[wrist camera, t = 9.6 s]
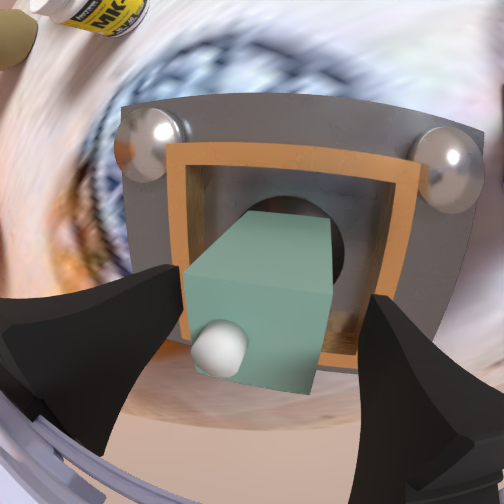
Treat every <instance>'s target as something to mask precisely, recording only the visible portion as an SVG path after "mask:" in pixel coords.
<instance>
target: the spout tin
mask: <svg viewBox="0 0 504 504" xmlns="http://www.w3.org/2000/svg"><path fill="white" fill-rule="evenodd" d="M183 281H184V291H185V299H186V308H187V316H188V324H189V331H190V338H191V345H192V348H191V357H192V359H193V361H194V364H195V370H196V373H199V374H203V375H207V376H211V377H215V378H219V379H223V380H228V381H232V382H237V383H241V384H246V385H251V386H256V387H261V388H267V389H272V390H278V391H285V392H291V393H298V394H306V395H310V391H311V388H312V384H313V380H314V377H315V373H316V369H317V365H318V361H319V357H320V353H321V348H322V344H323V340H324V335H325V331H326V326H327V321H328V317H329V312H330V307H331V302H332V296H333V273H332V245H331V226H330V218H321V217H312V216H302V215H293V214H282V213H272V212H261V211H249V210H248V211H247V212H246V213H245V214H244V215H243V216H242V217H241V218H240V219H239V220H238V221H237V222H236V223H234V224H233V225H232V226H231V227H230V228H229V229H228V230H227V231H226V232H225V233H224V234H223V235H222V236H221V237H220V238H219V239H218V240H216V241H215V242H214V243H213V244H212V245H211V246H210V247H209V248H208V249H207V250H206V251H205V252H204V253H203V254H202V255H201V256H200V257H199V258H198V259H197V260H196V261H195V262H194V263H192V264H191V265H190V266H189V267H188V268H187V269H186V270H185V271H184V272H183Z"/></svg>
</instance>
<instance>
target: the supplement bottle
mask: <svg viewBox="0 0 504 504" xmlns="http://www.w3.org/2000/svg"><path fill="white" fill-rule="evenodd" d="M149 4H150V0H31V1H30V6H29V9H30V11H31V12H32V13H35V14H39V15H44V16H49V17H50V19H51V21H53V22H54V23H57V24H62V25H66V26H71V27H75V28H79V29H83V30H87V31H90V32H94V33H98V34H101V35H104V36H108V37H119V36H122V35H124V34H126V33H128V32H130V31H131V30H132V29H134V28H135V27H136V26H137V25H138V24H139V23H140V21H141V20H142V19H143V17H144V16H145V14H146V12H147V10H148V7H149Z"/></svg>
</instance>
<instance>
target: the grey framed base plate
mask: <svg viewBox="0 0 504 504" xmlns="http://www.w3.org/2000/svg"><path fill="white" fill-rule="evenodd" d="M483 146H484V132H483V131H480V130H478V129H475V128H472V127H469V126H466V125H463V124H460V123H457V122H454V121H451V120H448V119H444V118H441V117H438V116H434V115H430V114H427V113H423V112H419V111H415V110H410V109H406V108H401V107H397V106H392V105H387V104H381V103H376V102H370V101H364V100H357V99H350V98H342V97H333V96H322V95H310V94H293V93H228V94H211V95H199V96H189V97H180V98H172V99H164V100H158V101H151V102H145V103H140V104H134V105H129V106H124V107H121V124H120V126H119V128H118V130H117V133H116V136H115V141H114V153H115V158H116V161H117V164H118V166H119V168H120V169H121V171H122V182H123V195H124V207H125V217H126V226H127V234H128V242H129V249H130V256H131V263H132V269H133V274H135V273H138V272H141V271H143V270H146V269H149V268H152V267H155V266H159V265H163V264H169V265H175V266H179V270H180V281H181V290H182V299H183V308H184V310H183V312H182V314H181V316H180V318H179V320H178V322H177V323H176V325H175V327H174V329H173V330H172V332H171V333H170V334H169V336H168V337H167V338H166V339H168V340H172V341H175V342H179V343H183V344H186V345H190V346H192V345H191V338H190V331H189V324H188V316H187V308H186V299H185V291H184V281H183V272H184V271H185V270H186V269H187V268H188V267H189V266H190V265H191V264H192V263H194V262H195V261H196V260H197V259H198V258H199V257H200V256H201V255H202V254H203V253H204V252H205V251H206V250H207V249H208V248H209V247H210V246H211V245H212V244H213V243H214V242H215V241H216V240H218V239H219V238H220V237H221V236H222V235H223V234H224V233H225V232H226V231H227V230H228V229H229V228H230V227H231V226H232V225H233V224H234V223H236V222H237V221H238V220H239V219H240V218H241V217H242V216H243V215H244V214H245V213H246V212H247V211H248V210H249V211H261V212H272V213H282V214H293V215H302V216H312V217H321V218H330V226H331V245H332V273H333V296H332V302H331V307H330V312H329V317H328V321H327V326H326V331H325V335H324V340H323V344H322V348H321V353H320V357H319V361H318V365H317V369H316V370H322V371H330V372H339V373H350V374H358V363H357V359H358V337H359V334H360V331H361V328H362V325H363V321H364V318H365V314H366V311H367V307H368V304H369V300H370V296H371V294H378V295H387V296H388V297H389V298H390V299H391V300H392V301H393V302H394V303H395V304H396V305H397V306H398V307H399V308H400V309H401V310H402V311H403V312H404V313H405V315H406V316H407V317H408V318H409V319H410V320H411V321H412V322H413V323H414V324H415V325H416V326H417V327H418V329H419V330H420V331H421V332H422V333H423V334H424V335H425V336H426V337H427V338H428V339H429V340H430V341H431V342H432V341H433V338H434V336H435V334H436V332H437V330H438V327H439V325H440V323H441V320H442V318H443V316H444V313H445V311H446V308H447V306H448V303H449V300H450V298H451V295H452V292H453V289H454V287H455V284H456V281H457V278H458V275H459V272H460V268H461V265H462V262H463V258H464V255H465V251H466V248H467V244H468V240H469V236H470V232H471V228H472V223H473V219H474V214H475V209H476V203H477V199H478V197H479V196H480V194H481V191H482V189H483V185H484V180H485V166H484V161H483Z"/></svg>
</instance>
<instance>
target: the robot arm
mask: <svg viewBox="0 0 504 504" xmlns="http://www.w3.org/2000/svg"><path fill="white" fill-rule="evenodd" d="M503 189H504V184H503ZM183 310H184V308H183V299H182V290H181V281H180V270H179V266H175V265H169V264H163V265H159V266H155V267H152V268H149V269H146V270H143V271H141V272H138V273H135V274H132V275H129V276H127V277H124V278H121V279H118V280H115V281H112V282H109V283H106V284H103V285H100V286H97V287H94V288H90V289H86V290H82V291H78V292H74V293H69V294H63V295H57V296H51V297H42V298H28V299H11V298H0V504H103V503H104V501H105V500H106V495H105V494H103V493H102V492H100V491H99V490H97V489H96V488H95V487H93V486H92V485H91V484H89V483H88V482H87V481H85V480H84V479H83V478H82V477H80V476H79V475H78V474H77V473H76V472H75V471H74V470H72V469H71V468H70V467H68V466H67V465H66V464H65V463H64V460H63V457H64V458H65V459H67V460H68V461H69V462H71V463H72V464H73V465H75V466H76V467H78V468H79V469H80V470H82V471H83V472H85V473H86V474H88V475H89V476H91V477H92V478H94V479H96V480H97V481H99V482H100V483H102V484H104V485H105V486H107V487H109V488H110V489H112V490H114V491H116V492H117V493H119V494H121V495H123V496H125V497H127V498H128V499H130V500H132V501H134V502H136V503H138V504H201V503H198V502H195V501H192V500H189V499H186V498H183V497H181V496H178V495H175V494H173V493H170V492H168V491H165V490H163V489H161V488H158V487H156V486H154V485H151V484H149V483H147V482H145V481H143V480H141V479H139V478H137V477H135V476H133V475H131V474H129V473H127V472H125V471H123V470H121V469H119V468H117V467H116V466H114V465H112V464H110V463H109V462H107V461H105V460H103V459H102V458H100V457H101V456H103V455H104V452H105V448H106V445H107V442H108V440H109V437H110V434H111V431H112V429H113V427H114V424H115V422H116V420H117V417H118V415H119V413H120V410H121V408H122V406H123V404H124V402H125V400H126V398H127V396H128V394H129V392H130V391H131V389H132V387H133V385H134V384H135V382H136V380H137V378H138V377H139V375H140V373H141V372H142V370H143V369H144V367H145V366H146V365H147V363H148V362H149V361H150V359H151V358H152V357H153V356H154V354H155V353H156V352H157V350H158V349H159V348H160V346H161V345H162V344H163V342H164V341H165V340H166V338H167V337H168V336H169V334H170V333H171V332H172V330H173V329H174V327H175V325H176V323H177V322H178V320H179V318H180V316H181V314H182V312H183ZM357 363H358V375H359V387H360V400H361V432H360V442H359V450H358V458H357V464H356V470H355V475H354V481H353V485H352V490H351V494H350V498H349V502H348V504H504V488H503V489H501V490H499V491H498V485H497V483H499V482H501V481H502V480H503V472H502V469H504V393H501V392H500V391H498V390H496V389H495V388H493V387H491V386H489V385H487V384H486V383H484V382H483V381H481V380H479V379H478V378H476V377H475V376H473V375H472V374H470V373H469V372H468V371H466V370H465V369H463V368H462V367H461V366H459V365H458V364H457V363H455V362H454V361H453V360H452V359H451V358H449V357H448V356H447V355H446V354H445V353H443V352H442V351H441V350H440V349H439V348H438V347H437V346H436V345H435V344H434V343H433V342H431V341H430V340H429V339H428V338H427V337H426V336H425V335H424V334H423V333H422V332H421V331H420V330H419V329H418V327H417V326H416V325H415V324H414V323H413V322H412V321H411V320H410V319H409V318H408V317H407V316H406V315H405V313H404V312H403V311H402V310H401V309H400V308H399V307H398V306H397V305H396V304H395V303H394V302H393V301H392V300H391V299H390V298H389V297H388V296H387V295H378V294H371V296H370V300H369V304H368V307H367V311H366V314H365V318H364V321H363V325H362V328H361V331H360V334H359V337H358V359H357ZM62 456H63V457H62Z"/></svg>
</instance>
